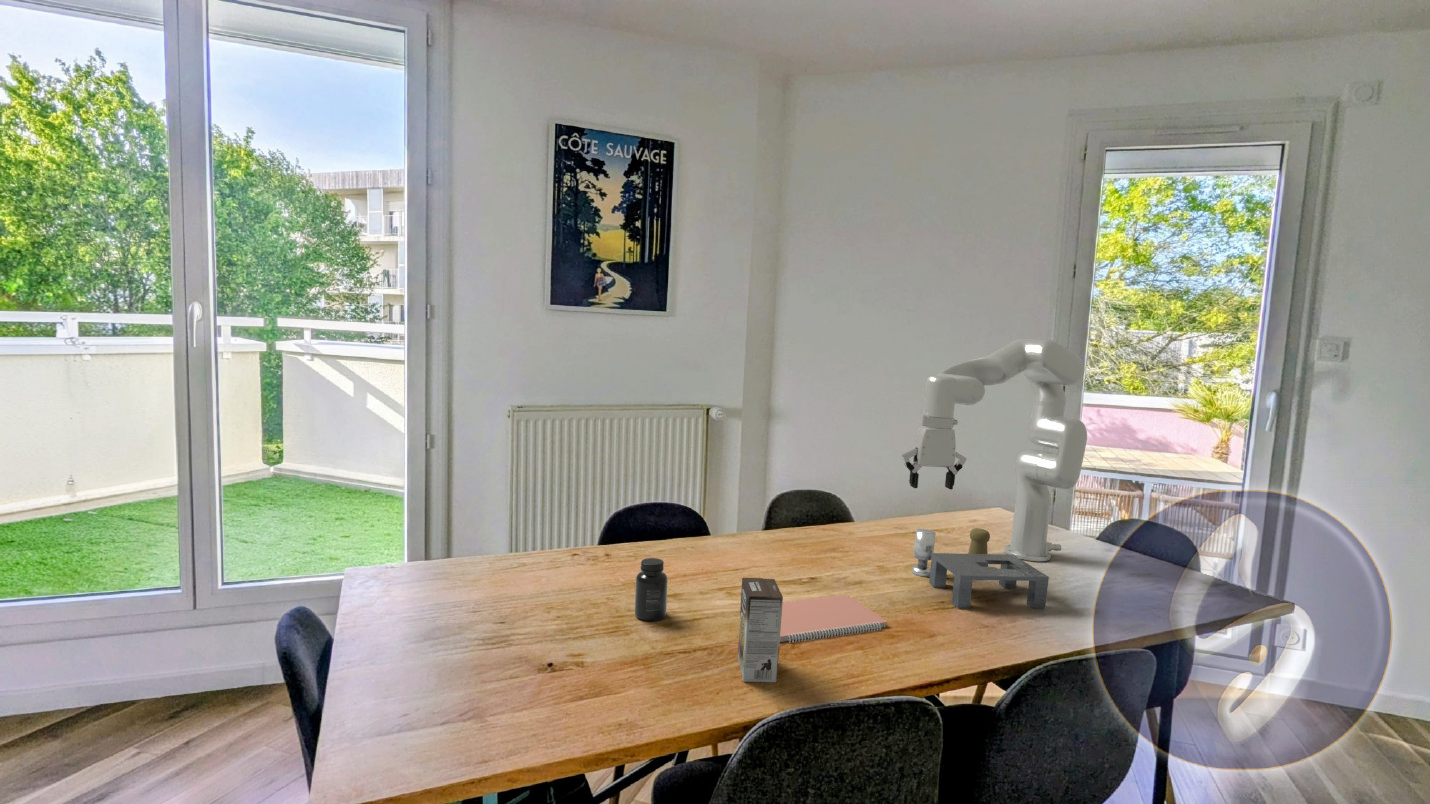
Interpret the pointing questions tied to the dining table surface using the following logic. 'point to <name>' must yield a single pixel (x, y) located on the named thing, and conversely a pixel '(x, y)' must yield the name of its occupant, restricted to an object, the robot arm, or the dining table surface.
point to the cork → (979, 541)
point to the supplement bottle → (651, 590)
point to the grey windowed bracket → (987, 575)
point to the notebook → (826, 618)
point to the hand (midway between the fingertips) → (931, 487)
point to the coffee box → (759, 629)
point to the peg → (923, 551)
